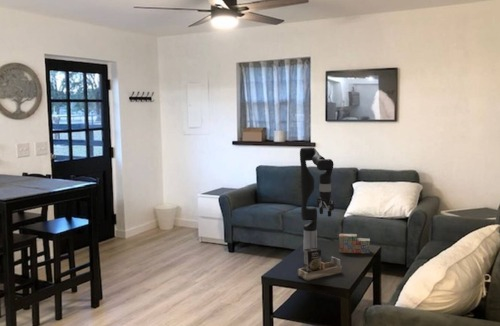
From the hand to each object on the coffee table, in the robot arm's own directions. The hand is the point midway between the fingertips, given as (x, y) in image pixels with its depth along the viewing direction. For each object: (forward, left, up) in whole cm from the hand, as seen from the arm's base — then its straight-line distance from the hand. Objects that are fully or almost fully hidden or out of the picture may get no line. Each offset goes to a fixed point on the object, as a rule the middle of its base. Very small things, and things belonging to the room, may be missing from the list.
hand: (325, 215), depth 301 cm
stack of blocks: (-14, +36, -34) cm, 52 cm away
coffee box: (+10, -18, -33) cm, 39 cm away
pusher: (+10, -12, -33) cm, 36 cm away
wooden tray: (+10, -12, -34) cm, 37 cm away
